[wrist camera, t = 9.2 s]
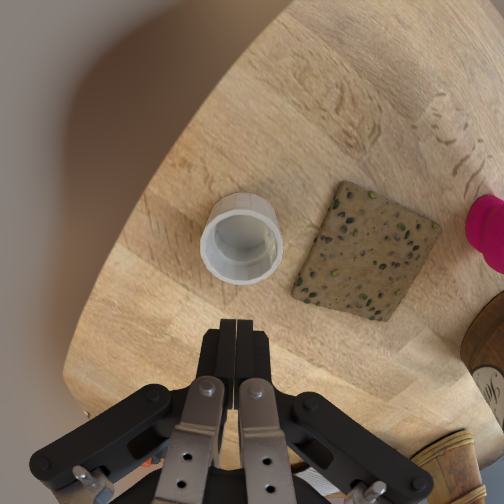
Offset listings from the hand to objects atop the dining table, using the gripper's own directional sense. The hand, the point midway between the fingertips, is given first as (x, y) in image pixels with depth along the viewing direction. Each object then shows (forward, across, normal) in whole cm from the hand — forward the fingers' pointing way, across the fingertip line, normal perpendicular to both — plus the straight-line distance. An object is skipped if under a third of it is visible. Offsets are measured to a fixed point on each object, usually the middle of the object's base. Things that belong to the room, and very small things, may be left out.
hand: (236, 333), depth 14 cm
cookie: (+13, -12, +2) cm, 18 cm away
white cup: (+13, 0, 0) cm, 13 cm away
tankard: (+13, -52, +57) cm, 78 cm away
